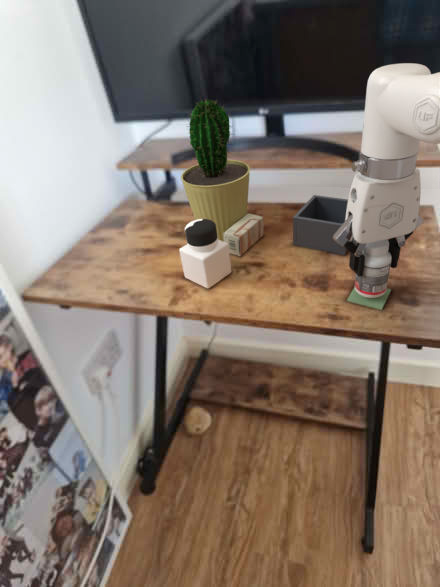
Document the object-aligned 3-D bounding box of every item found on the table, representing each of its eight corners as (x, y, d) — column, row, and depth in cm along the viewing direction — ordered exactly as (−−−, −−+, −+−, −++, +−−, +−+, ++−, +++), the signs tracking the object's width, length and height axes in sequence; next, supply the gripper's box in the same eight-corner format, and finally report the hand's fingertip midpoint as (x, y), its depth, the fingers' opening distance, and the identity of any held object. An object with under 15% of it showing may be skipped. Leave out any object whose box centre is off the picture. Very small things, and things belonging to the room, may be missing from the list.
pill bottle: (355, 279, 74) (360, 232, 68) (386, 282, 73) (394, 234, 67) (353, 297, 70) (357, 249, 64) (385, 300, 69) (394, 251, 63)
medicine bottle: (232, 272, 83) (226, 220, 76) (208, 289, 80) (199, 236, 72) (208, 262, 88) (200, 211, 80) (184, 278, 84) (173, 226, 77)
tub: (362, 229, 91) (365, 201, 87) (344, 255, 83) (347, 226, 79) (313, 221, 96) (313, 194, 92) (293, 245, 89) (292, 217, 85)
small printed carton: (239, 237, 85) (263, 215, 91) (222, 233, 87) (246, 212, 93) (241, 257, 88) (264, 235, 94) (224, 253, 90) (248, 231, 96)
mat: (390, 290, 73) (391, 288, 73) (381, 310, 69) (382, 308, 69) (357, 282, 76) (357, 281, 75) (347, 301, 72) (347, 299, 72)
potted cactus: (218, 255, 89) (197, 111, 71) (179, 233, 100) (152, 103, 81) (267, 228, 96) (260, 91, 78) (226, 210, 106) (212, 85, 88)
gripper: (343, 184, 54) (335, 291, 65) (459, 160, 56) (432, 268, 67) (320, 166, 60) (316, 267, 71) (425, 144, 62) (406, 246, 72)
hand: (373, 267), depth 69 cm, fingers closed on pill bottle, 5 cm apart
